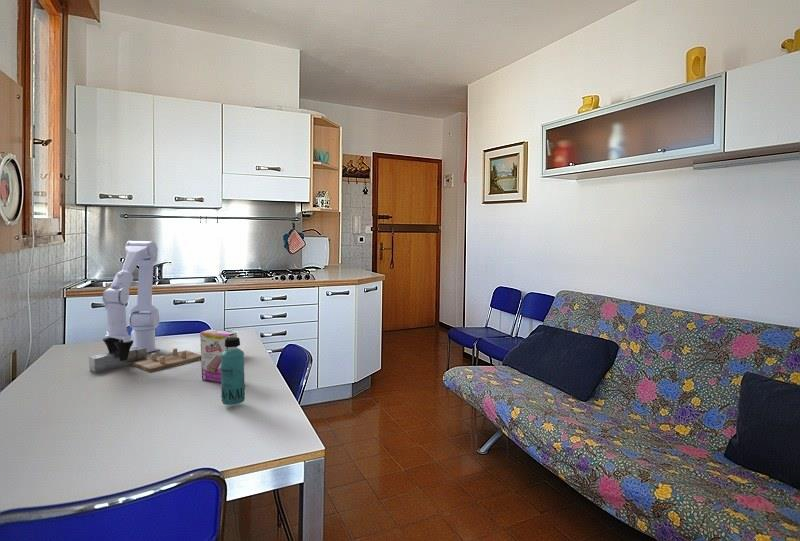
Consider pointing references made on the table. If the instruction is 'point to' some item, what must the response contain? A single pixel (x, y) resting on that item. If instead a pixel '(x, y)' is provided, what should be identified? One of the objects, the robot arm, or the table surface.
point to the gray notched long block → (116, 359)
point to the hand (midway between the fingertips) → (118, 358)
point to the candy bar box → (213, 353)
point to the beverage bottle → (232, 373)
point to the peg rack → (166, 360)
